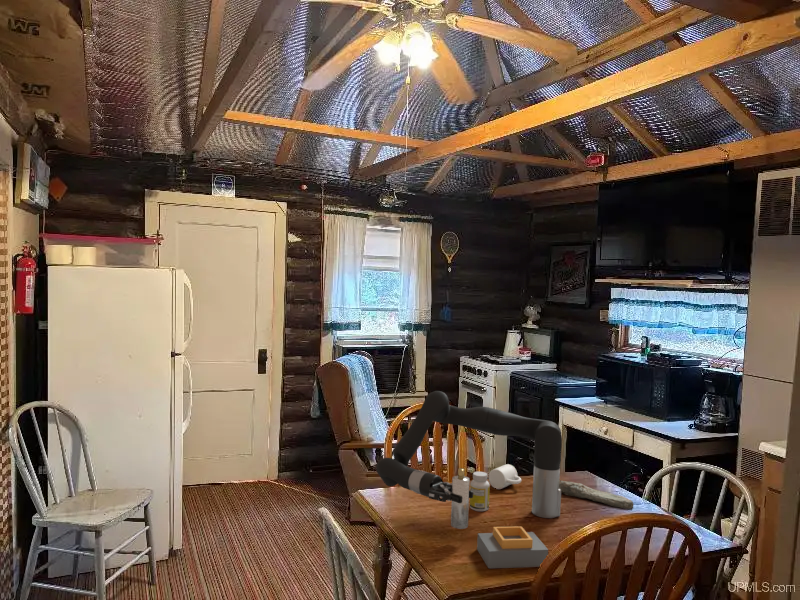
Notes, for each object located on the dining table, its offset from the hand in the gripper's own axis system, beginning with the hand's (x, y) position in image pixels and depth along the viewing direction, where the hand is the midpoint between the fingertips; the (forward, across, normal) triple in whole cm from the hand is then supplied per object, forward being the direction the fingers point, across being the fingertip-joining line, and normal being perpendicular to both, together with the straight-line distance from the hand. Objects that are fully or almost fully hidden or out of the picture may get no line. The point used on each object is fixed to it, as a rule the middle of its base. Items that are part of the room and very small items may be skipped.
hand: (467, 497), depth 179 cm
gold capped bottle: (-3, 0, +10) cm, 10 cm away
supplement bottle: (-14, +29, +16) cm, 35 cm away
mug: (-18, +56, +16) cm, 61 cm away
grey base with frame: (+14, +3, +15) cm, 21 cm away
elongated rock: (+9, +71, +17) cm, 73 cm away
